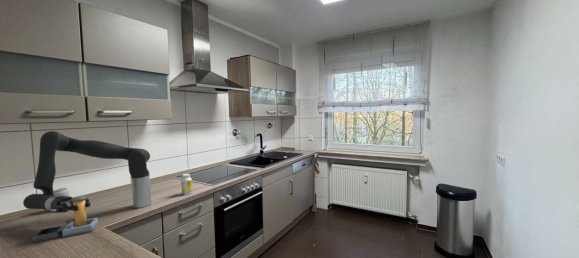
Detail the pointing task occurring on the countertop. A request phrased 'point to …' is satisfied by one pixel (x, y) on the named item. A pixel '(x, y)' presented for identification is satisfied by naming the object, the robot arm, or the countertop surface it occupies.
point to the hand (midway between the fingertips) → (83, 206)
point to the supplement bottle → (186, 184)
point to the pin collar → (48, 233)
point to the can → (61, 192)
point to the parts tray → (80, 228)
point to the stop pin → (80, 211)
